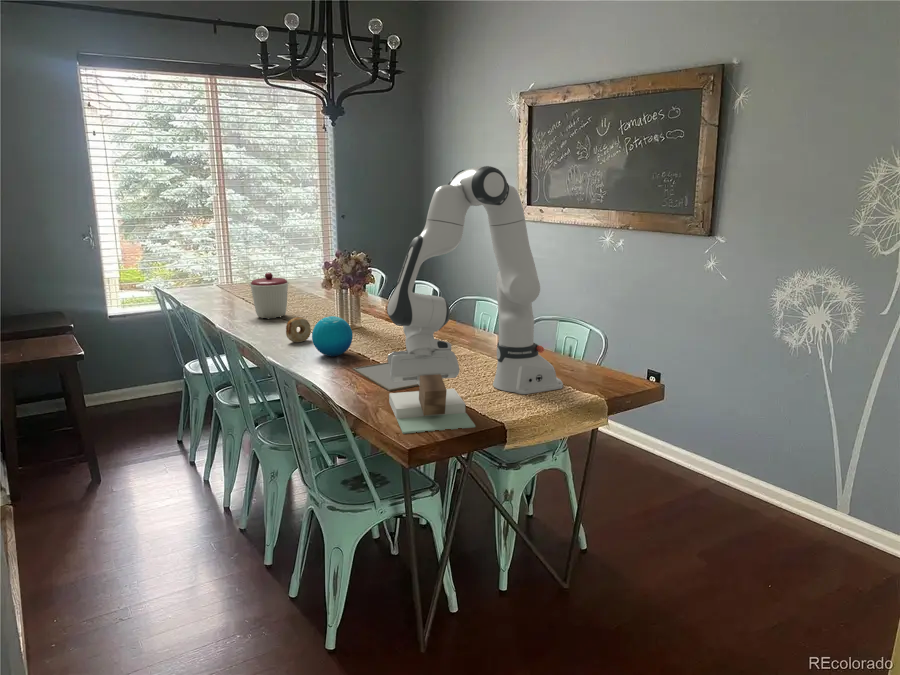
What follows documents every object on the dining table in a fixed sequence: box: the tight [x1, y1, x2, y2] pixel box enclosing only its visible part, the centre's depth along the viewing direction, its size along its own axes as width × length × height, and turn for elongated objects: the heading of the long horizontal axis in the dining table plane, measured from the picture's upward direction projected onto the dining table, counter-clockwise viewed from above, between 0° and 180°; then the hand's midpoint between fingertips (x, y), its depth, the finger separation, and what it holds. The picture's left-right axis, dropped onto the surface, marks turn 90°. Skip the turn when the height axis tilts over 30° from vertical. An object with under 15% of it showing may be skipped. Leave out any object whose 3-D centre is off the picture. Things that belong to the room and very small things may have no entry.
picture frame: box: [352, 361, 419, 392], centre depth 231 cm, size 19×1×28 cm
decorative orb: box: [311, 315, 353, 357], centre depth 253 cm, size 15×15×15 cm
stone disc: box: [285, 316, 312, 343], centre depth 274 cm, size 10×4×10 cm, turn 131°
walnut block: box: [418, 374, 447, 416], centre depth 190 cm, size 6×8×8 cm
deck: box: [388, 388, 466, 420], centre depth 199 cm, size 20×14×3 cm
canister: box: [248, 272, 290, 319], centre depth 318 cm, size 18×18×21 cm
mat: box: [396, 412, 476, 435], centre depth 187 cm, size 20×10×1 cm, turn 103°
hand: (427, 391), depth 195 cm, fingers closed
